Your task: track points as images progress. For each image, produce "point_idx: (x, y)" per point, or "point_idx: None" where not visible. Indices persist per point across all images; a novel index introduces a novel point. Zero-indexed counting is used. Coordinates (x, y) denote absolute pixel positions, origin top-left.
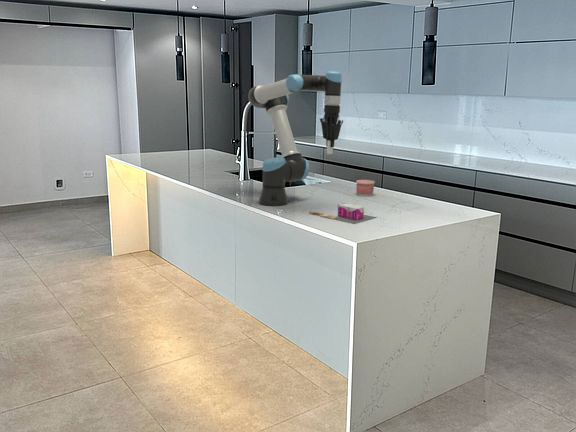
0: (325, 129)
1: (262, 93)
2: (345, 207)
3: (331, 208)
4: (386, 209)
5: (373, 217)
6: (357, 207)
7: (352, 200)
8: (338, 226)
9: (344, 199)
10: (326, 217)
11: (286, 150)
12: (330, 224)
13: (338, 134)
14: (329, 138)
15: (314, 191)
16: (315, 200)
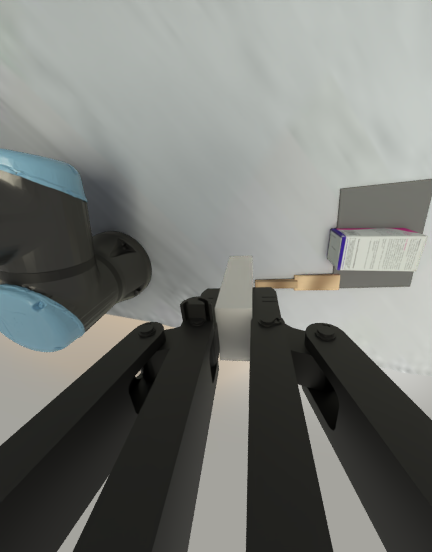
0: (85, 465)
1: None
2: (367, 269)
3: (248, 192)
4: (406, 13)
5: (426, 190)
6: (412, 258)
7: (204, 7)
8: (382, 322)
9: (174, 26)
10: (314, 288)
11: None
12: (356, 320)
13: (392, 397)
14: (215, 347)
15: (10, 19)
16: (139, 146)
